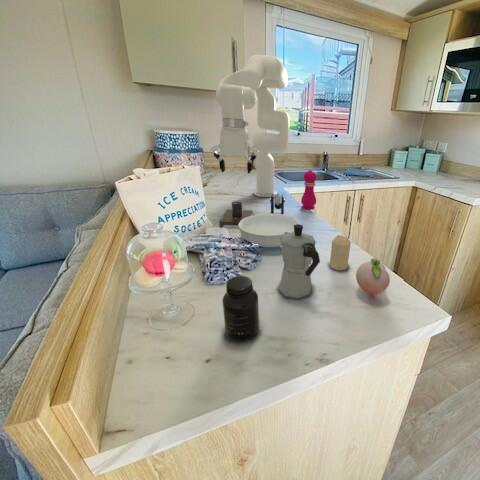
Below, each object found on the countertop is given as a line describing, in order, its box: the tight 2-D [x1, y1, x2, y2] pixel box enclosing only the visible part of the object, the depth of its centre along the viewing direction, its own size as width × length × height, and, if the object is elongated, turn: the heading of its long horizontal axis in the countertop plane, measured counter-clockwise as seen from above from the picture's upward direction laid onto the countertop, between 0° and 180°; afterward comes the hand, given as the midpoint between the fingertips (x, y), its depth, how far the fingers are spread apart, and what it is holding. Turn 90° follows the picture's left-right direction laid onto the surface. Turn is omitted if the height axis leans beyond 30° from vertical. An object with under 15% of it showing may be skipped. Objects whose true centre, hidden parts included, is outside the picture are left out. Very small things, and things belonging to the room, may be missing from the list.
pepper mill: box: [300, 167, 318, 211], centre depth 128 cm, size 7×7×20 cm
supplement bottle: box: [222, 275, 260, 342], centre depth 55 cm, size 7×7×12 cm
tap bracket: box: [269, 194, 286, 215], centre depth 111 cm, size 12×9×12 cm
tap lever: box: [274, 195, 281, 210], centre depth 114 cm, size 13×3×3 cm, turn 6°
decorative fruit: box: [355, 257, 391, 295], centre depth 71 cm, size 9×8×10 cm
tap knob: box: [231, 200, 243, 217], centre depth 110 cm, size 4×4×6 cm
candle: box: [329, 234, 351, 271], centre depth 83 cm, size 6×6×10 cm
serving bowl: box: [237, 212, 301, 248], centre depth 96 cm, size 21×21×7 cm
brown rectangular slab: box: [219, 209, 254, 228], centre depth 111 cm, size 14×11×3 cm
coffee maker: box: [278, 223, 321, 300], centre depth 68 cm, size 15×9×18 cm, turn 36°
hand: (236, 172), depth 106 cm, fingers open, 9 cm apart
